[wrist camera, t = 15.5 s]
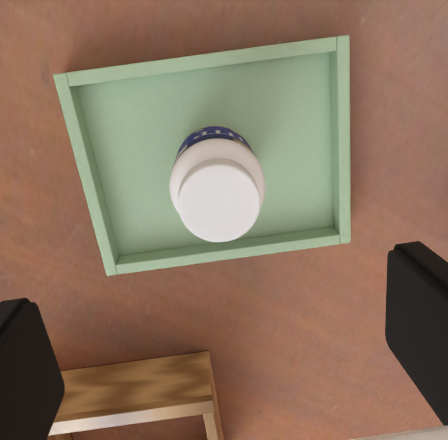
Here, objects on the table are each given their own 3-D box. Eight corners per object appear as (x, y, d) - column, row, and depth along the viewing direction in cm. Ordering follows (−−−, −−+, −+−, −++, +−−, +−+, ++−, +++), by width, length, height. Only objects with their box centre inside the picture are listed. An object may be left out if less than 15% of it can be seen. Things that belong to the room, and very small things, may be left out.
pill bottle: (262, 135, 26) (291, 167, 18) (240, 207, 28) (257, 265, 20) (185, 114, 26) (178, 136, 17) (168, 189, 27) (153, 241, 19)
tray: (112, 262, 30) (106, 276, 28) (63, 73, 25) (51, 74, 23) (341, 231, 30) (351, 243, 28) (338, 36, 25) (350, 34, 23)
